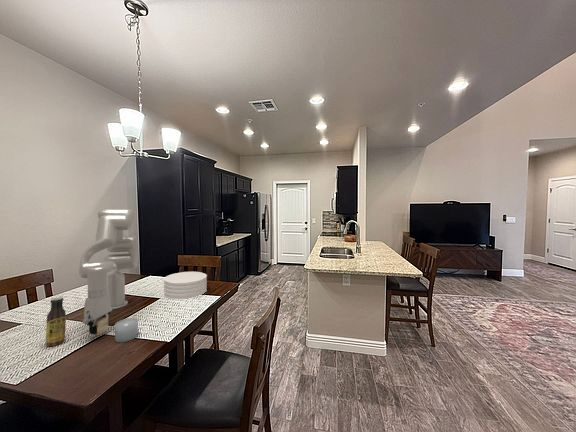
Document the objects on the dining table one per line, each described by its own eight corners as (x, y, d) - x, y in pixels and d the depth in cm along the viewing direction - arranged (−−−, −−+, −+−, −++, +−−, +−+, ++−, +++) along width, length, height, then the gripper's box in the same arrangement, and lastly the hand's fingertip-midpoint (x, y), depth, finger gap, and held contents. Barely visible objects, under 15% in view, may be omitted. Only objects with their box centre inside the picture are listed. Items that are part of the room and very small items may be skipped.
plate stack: (202, 284, 193) (202, 270, 193) (210, 295, 169) (210, 279, 169) (162, 289, 179) (162, 274, 178) (165, 303, 155) (165, 285, 154)
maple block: (89, 333, 112) (88, 321, 111) (98, 328, 117) (98, 316, 116) (98, 335, 111) (98, 322, 111) (108, 329, 116) (108, 317, 116)
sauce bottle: (48, 348, 104) (47, 302, 103) (43, 344, 107) (43, 299, 106) (68, 341, 109) (67, 298, 109) (63, 337, 113) (62, 295, 112)
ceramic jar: (110, 341, 111) (109, 326, 110) (125, 331, 120) (125, 317, 119) (127, 343, 110) (127, 327, 109) (142, 332, 118) (142, 318, 118)
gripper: (107, 285, 122) (107, 320, 123) (72, 299, 105) (73, 339, 106) (120, 286, 121) (120, 322, 122) (87, 300, 104) (88, 341, 105)
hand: (98, 330), depth 114 cm, fingers closed on maple block, 5 cm apart
